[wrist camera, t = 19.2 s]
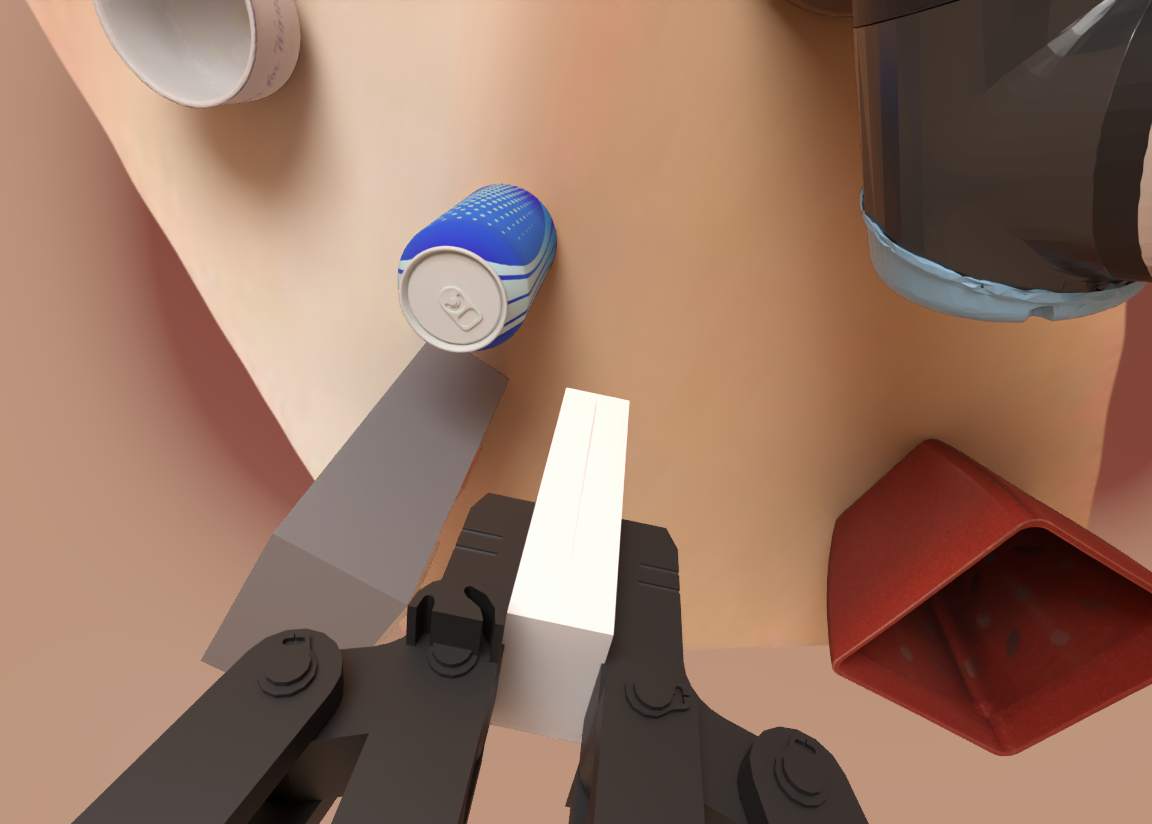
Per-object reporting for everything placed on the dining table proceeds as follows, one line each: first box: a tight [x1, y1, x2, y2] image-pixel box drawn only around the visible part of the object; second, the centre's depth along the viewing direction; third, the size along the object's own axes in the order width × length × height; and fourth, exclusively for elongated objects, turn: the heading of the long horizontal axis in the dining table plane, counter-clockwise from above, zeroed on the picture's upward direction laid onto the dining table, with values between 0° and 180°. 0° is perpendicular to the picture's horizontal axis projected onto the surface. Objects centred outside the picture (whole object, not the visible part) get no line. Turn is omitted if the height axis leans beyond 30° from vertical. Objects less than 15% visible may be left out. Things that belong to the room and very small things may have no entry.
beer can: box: [398, 184, 557, 353], centre depth 42 cm, size 8×8×16 cm
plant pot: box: [827, 439, 1152, 756], centre depth 50 cm, size 19×19×17 cm
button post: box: [201, 342, 509, 672], centre depth 46 cm, size 8×14×27 cm, turn 145°
